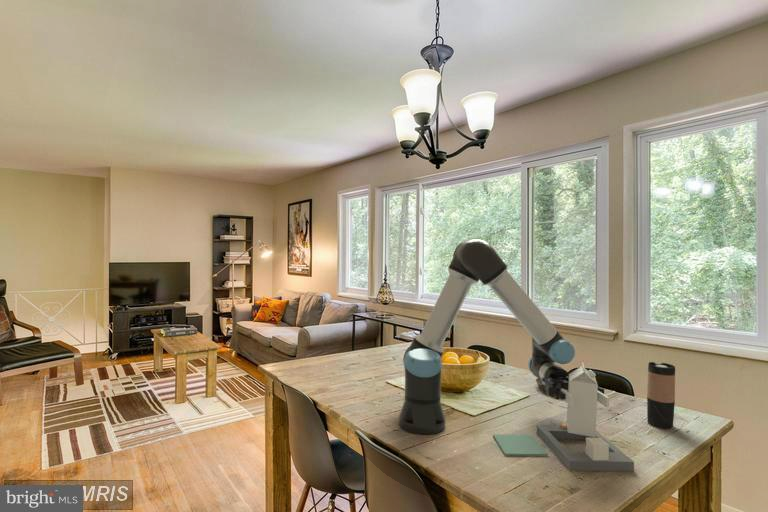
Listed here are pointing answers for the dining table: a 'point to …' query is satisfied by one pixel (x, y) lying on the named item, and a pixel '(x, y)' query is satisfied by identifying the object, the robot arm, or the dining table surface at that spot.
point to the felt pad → (519, 445)
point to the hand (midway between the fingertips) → (590, 401)
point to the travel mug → (661, 395)
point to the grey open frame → (596, 455)
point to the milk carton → (582, 402)
